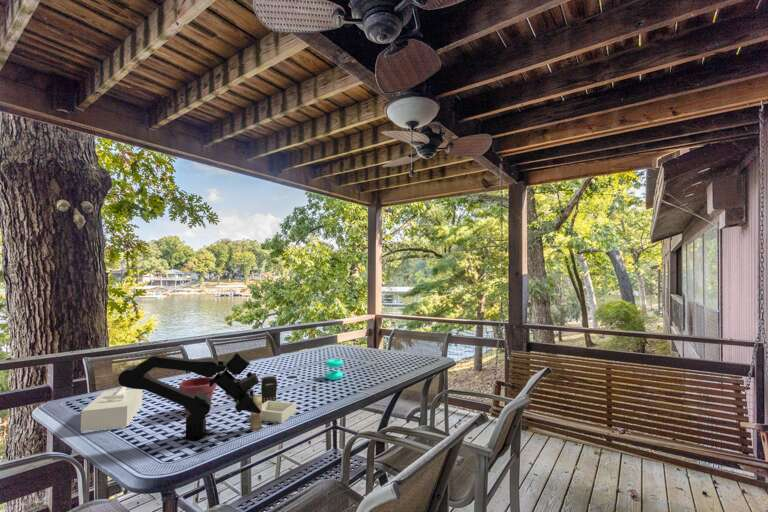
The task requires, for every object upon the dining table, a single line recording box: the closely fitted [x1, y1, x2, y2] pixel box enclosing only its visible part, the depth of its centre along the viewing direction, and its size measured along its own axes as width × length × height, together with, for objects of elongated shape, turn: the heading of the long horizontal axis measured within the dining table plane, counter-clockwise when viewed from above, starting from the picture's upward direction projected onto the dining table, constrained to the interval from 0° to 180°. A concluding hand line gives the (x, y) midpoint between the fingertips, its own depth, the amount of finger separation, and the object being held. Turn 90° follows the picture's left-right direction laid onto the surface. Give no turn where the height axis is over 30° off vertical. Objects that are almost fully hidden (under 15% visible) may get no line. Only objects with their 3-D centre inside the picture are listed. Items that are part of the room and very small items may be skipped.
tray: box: [262, 400, 297, 424], centre depth 155 cm, size 12×14×4 cm
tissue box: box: [80, 386, 143, 431], centre depth 152 cm, size 14×25×11 cm, turn 22°
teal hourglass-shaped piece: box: [325, 358, 344, 381], centre depth 212 cm, size 10×10×10 cm
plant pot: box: [178, 376, 217, 416], centre depth 160 cm, size 14×14×13 cm
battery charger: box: [260, 375, 278, 404], centre depth 172 cm, size 7×4×11 cm, turn 113°
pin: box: [250, 394, 263, 431], centre depth 142 cm, size 4×4×12 cm
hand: (260, 410), depth 143 cm, fingers closed on pin, 4 cm apart
